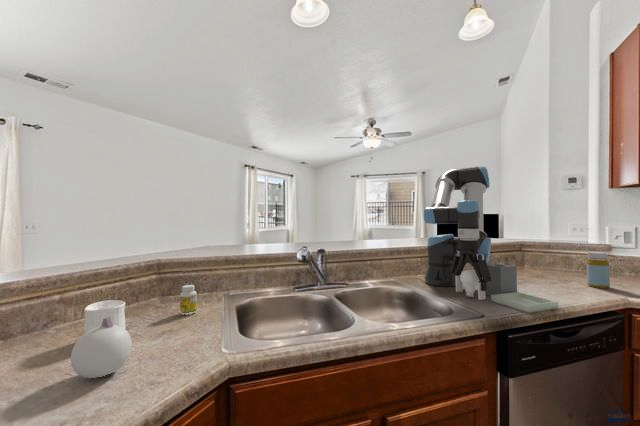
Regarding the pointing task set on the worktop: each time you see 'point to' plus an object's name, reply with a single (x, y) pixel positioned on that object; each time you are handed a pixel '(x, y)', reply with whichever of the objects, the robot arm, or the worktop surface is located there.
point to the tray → (524, 302)
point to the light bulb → (469, 282)
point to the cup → (104, 314)
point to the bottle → (598, 270)
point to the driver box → (501, 279)
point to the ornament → (101, 350)
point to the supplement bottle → (188, 299)
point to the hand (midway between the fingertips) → (470, 295)
